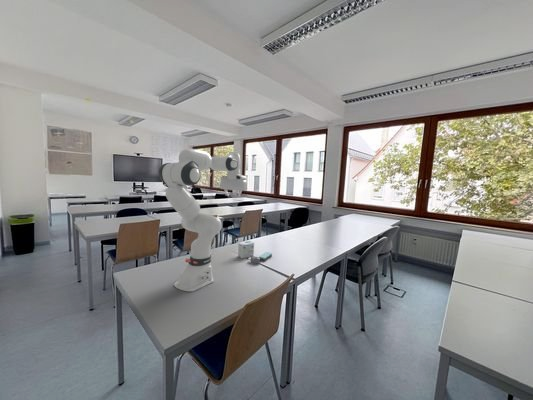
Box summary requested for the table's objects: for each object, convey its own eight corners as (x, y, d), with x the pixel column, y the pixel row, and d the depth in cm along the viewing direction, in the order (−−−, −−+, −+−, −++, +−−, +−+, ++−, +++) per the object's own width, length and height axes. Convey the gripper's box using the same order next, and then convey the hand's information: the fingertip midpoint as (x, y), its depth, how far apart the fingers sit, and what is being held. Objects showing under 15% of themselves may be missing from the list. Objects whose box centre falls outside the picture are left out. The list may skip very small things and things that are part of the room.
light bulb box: (248, 253, 178) (249, 240, 177) (253, 256, 173) (254, 242, 172) (237, 256, 171) (238, 242, 170) (242, 258, 166) (242, 245, 165)
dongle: (260, 263, 160) (260, 257, 159) (258, 264, 157) (258, 259, 156) (250, 260, 164) (250, 255, 163) (247, 262, 160) (247, 256, 160)
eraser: (264, 262, 163) (264, 257, 163) (258, 260, 165) (258, 256, 165) (271, 257, 174) (271, 253, 173) (266, 255, 176) (266, 251, 176)
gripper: (218, 175, 154) (217, 195, 156) (243, 177, 146) (243, 197, 148) (223, 175, 160) (223, 194, 162) (248, 177, 152) (247, 197, 154)
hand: (232, 196), depth 155 cm, fingers open, 8 cm apart
